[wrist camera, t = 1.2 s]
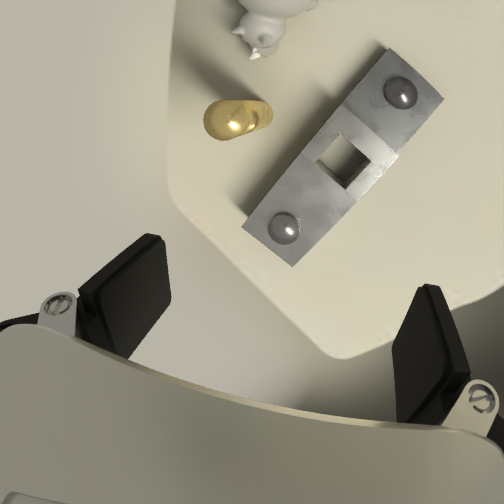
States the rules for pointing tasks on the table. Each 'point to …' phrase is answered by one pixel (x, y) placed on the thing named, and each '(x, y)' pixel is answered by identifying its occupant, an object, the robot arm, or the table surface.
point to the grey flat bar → (362, 137)
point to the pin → (236, 118)
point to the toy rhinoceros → (267, 23)
